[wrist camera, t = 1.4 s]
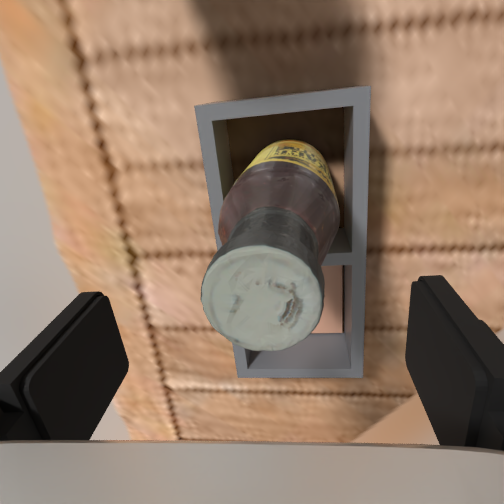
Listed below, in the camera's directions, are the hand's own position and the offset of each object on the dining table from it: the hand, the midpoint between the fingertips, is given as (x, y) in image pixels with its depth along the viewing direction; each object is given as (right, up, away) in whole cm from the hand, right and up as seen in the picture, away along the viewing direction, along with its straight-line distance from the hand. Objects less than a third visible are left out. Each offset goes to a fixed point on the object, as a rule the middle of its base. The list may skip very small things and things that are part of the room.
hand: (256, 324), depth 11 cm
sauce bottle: (+3, +9, +18) cm, 21 cm away
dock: (+3, +4, +20) cm, 21 cm away
